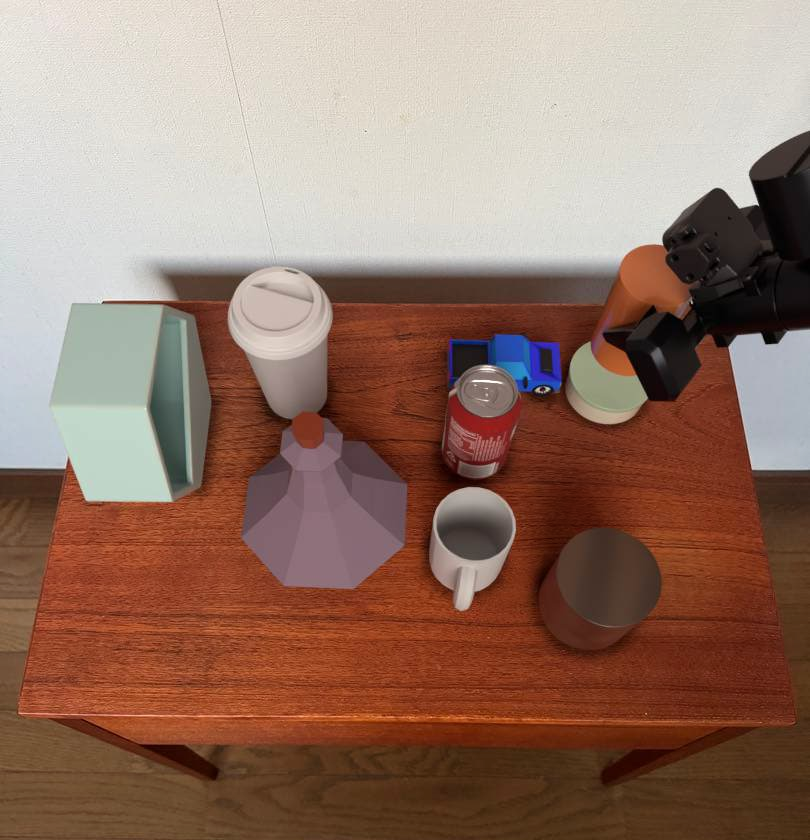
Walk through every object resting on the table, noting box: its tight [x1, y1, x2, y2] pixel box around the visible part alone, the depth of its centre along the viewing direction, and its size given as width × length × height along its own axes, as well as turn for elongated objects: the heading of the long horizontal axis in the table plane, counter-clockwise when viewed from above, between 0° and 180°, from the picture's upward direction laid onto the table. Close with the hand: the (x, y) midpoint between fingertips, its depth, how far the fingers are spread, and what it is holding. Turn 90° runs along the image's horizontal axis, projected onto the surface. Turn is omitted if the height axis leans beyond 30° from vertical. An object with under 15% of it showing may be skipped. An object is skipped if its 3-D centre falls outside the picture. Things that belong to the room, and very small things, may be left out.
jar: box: [564, 340, 649, 425], centre depth 78 cm, size 9×9×3 cm
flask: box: [240, 411, 408, 590], centre depth 63 cm, size 16×16×20 cm
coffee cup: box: [227, 265, 334, 421], centre depth 72 cm, size 10×10×15 cm
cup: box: [428, 486, 517, 612], centre depth 67 cm, size 7×10×9 cm
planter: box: [49, 302, 212, 503], centre depth 68 cm, size 17×8×21 cm
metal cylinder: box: [537, 526, 663, 651], centre depth 66 cm, size 9×9×8 cm
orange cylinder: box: [590, 243, 699, 376], centre depth 66 cm, size 7×7×10 cm
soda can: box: [441, 365, 523, 481], centre depth 70 cm, size 7×7×12 cm
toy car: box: [446, 331, 562, 397], centre depth 77 cm, size 7×12×5 cm, turn 89°
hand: (625, 312), depth 67 cm, fingers closed on orange cylinder, 6 cm apart
